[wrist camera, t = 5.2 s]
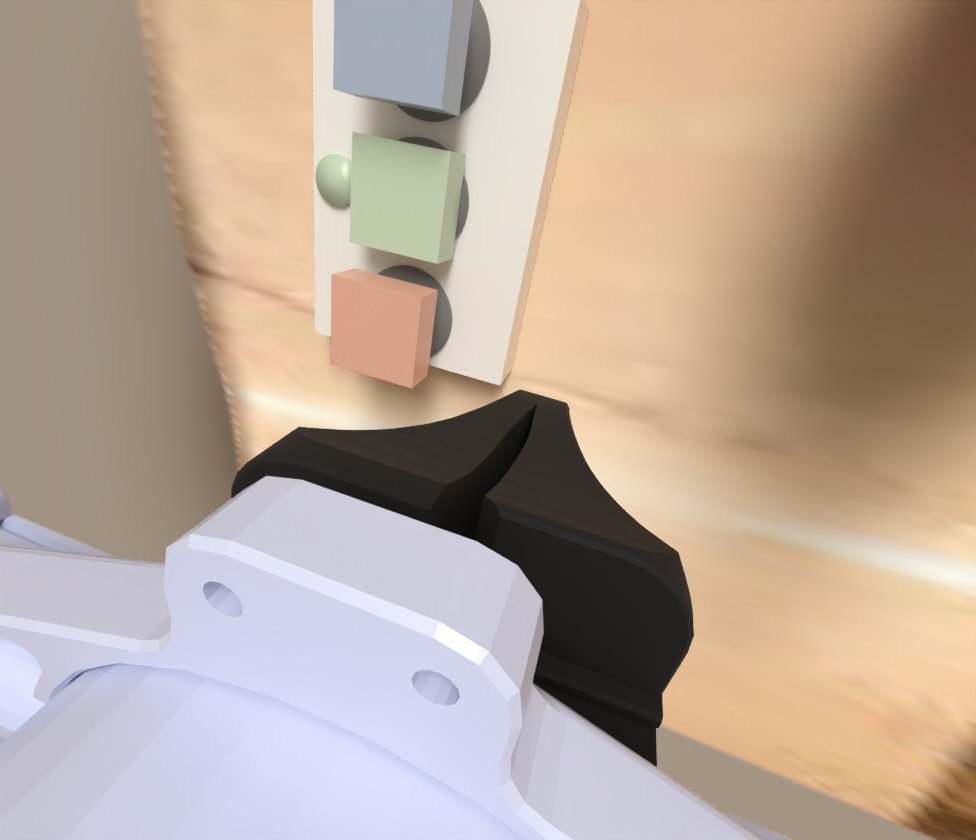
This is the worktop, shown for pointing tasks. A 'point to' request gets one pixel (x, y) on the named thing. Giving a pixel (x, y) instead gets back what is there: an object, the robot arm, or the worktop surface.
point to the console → (486, 180)
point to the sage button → (405, 197)
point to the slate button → (402, 51)
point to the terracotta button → (381, 326)
